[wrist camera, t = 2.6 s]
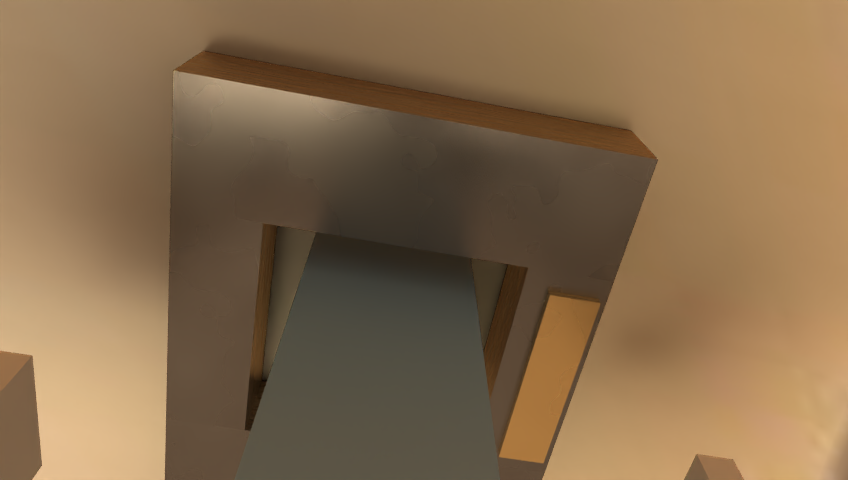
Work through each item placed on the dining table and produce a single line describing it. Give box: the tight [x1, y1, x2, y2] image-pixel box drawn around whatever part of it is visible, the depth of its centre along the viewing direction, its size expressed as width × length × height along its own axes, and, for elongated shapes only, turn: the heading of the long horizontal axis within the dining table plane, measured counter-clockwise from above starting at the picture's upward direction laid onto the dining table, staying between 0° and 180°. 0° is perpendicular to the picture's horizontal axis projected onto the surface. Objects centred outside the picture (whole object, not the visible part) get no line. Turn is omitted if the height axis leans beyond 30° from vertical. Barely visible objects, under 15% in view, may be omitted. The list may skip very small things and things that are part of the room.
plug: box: [234, 232, 500, 480], centre depth 14 cm, size 5×4×10 cm
